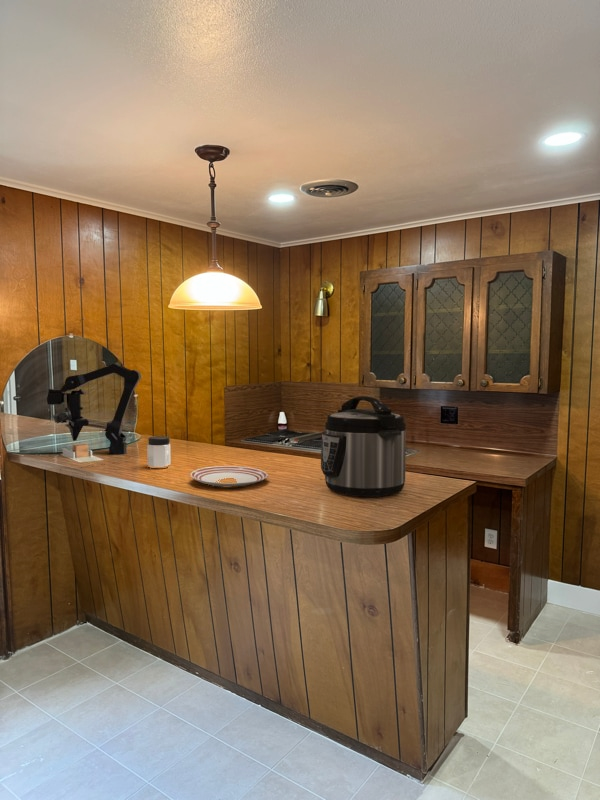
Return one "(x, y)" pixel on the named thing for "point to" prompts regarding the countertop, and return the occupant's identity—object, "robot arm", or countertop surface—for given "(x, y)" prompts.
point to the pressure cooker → (364, 450)
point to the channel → (71, 455)
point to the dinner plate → (228, 475)
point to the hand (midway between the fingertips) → (74, 440)
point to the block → (80, 450)
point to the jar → (158, 451)
